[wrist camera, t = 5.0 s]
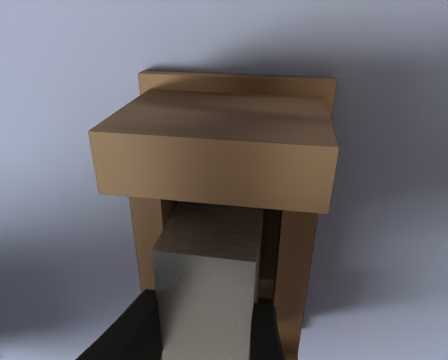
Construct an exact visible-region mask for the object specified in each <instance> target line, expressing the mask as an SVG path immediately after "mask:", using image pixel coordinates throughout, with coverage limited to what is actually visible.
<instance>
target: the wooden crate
mask: <svg viewBox="0 0 448 360" xmlns="http://www.w3.org/2000/svg"><path fill="white" fill-rule="evenodd" d="M138 79H139V89H140V96H139V97H137V98H136V99H134V100H133V101H131V102H130V103H128V104H127V105H125V106H124V107H123V108H121V109H120V110H118V111H117V112H115V113H114V114H112V115H111V116H109V117H108V118H107V119H105V120H104V121H102V122H101V123H99V124H98V125H96V126H95V127H93V128H92V129H91V130H89V131H88V134H89V140H90V146H91V151H92V157H93V163H94V169H95V174H96V180H97V186H98V192H99V194H108V195H119V196H129V200H130V208H131V216H132V223H133V231H134V239H135V246H136V254H137V262H138V269H139V277H140V284H141V292H143V291H144V290H145V289H151V290H155V280H154V270H153V260H152V249H153V247H154V245H155V243H156V242H157V240H158V238H159V236H160V234H161V233H162V231H163V229H164V227H165V225H166V223H167V222H168V220H169V218H170V216H171V214H172V213H173V211H174V209H175V207H176V205H177V203H178V202H179V201H186V202H197V203H208V204H220V205H231V206H242V207H253V208H264V209H265V222H264V237H263V251H262V266H261V280H260V290H259V299H258V303H261V304H269V305H273V306H274V307H275V308H276V318H277V325H278V331H279V336H280V341H281V345H282V349H283V353H284V357H285V360H298V348H299V341H300V334H301V327H302V320H303V314H304V307H305V300H306V293H307V286H308V279H309V273H310V266H311V259H312V252H313V245H314V238H315V232H316V225H317V218H318V213H320V214H328V213H329V207H330V201H331V195H332V189H333V182H334V176H335V170H336V164H337V158H338V151H339V145H338V142H337V139H336V136H335V132H334V129H333V126H332V123H331V120H332V113H333V106H334V99H335V92H336V86H337V80H336V78H321V77H295V76H270V75H244V74H218V73H192V72H166V71H142V72H140V73H138ZM160 360H162V355H161V359H160Z"/></svg>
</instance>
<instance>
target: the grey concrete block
mask: <svg viewBox="0 0 448 360" xmlns="http://www.w3.org/2000/svg"><path fill="white" fill-rule="evenodd" d="M264 222H265V209H264V208H253V207H242V206H231V205H220V204H208V203H197V202H186V201H179V202H178V203H177V205H176V207H175V209H174V211H173V213H172V214H171V216H170V218H169V220H168V222H167V223H166V225H165V227H164V229H163V231H162V233H161V234H160V236H159V238H158V240H157V242H156V243H155V245H154V247H153V249H152V260H153V270H154V280H155V290H156V300H158V310H159V320H160V330H161V340H162V351H163V352H162V360H249V350H250V332H251V319H252V312H253V308H254V303H258V299H259V290H260V280H261V266H262V251H263V237H264Z"/></svg>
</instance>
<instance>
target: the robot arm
mask: <svg viewBox="0 0 448 360" xmlns="http://www.w3.org/2000/svg"><path fill="white" fill-rule="evenodd" d="M162 352H163V351H162V340H161V330H160V320H159V310H158V300H156V290H151V289H145V290H144V291H143V292H142V293H141V294H140V295H139V296H138V297H137V298H136V299H135V301H134V302H133V303H132V304H131V305H130V306H129V307H128V308H127V309H126V310H125V311H124V313H123V314H122V315H121V316H120V317H119V318H118V319H117V320H116V321H115V322H114V323H113V324H112V325H111V326H110V327H109V328H108V329H107V330H106V331H105V332H104V333H103V334H102V335H101V336H100V337H99V338H98V339H97V340H96V341H95V342H94V343H93V344H92V345H91V346H90V347H89V348H87V349H86V350H85V351H84V352H83V353H82V354H81V355H80V356H79V357H78V358H77V359H76V360H160V359H161V355H162ZM249 360H285V357H284V353H283V349H282V345H281V341H280V336H279V331H278V325H277V318H276V308H275V307H274V306H273V305H269V304H261V303H254V308H253V312H252V319H251V332H250V350H249Z"/></svg>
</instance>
